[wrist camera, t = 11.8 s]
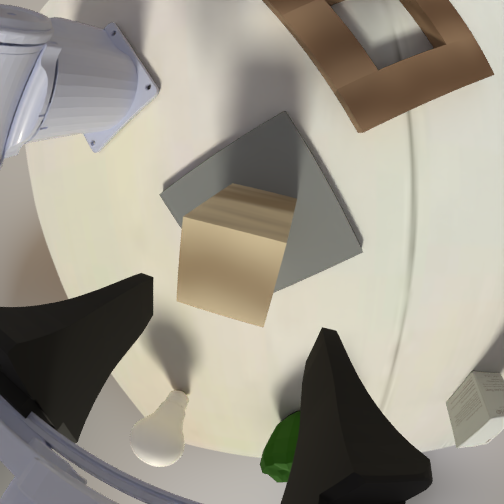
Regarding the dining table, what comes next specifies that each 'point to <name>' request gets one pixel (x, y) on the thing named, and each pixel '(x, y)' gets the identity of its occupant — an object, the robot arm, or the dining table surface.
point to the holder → (393, 76)
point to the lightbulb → (161, 432)
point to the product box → (477, 409)
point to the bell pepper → (281, 449)
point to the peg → (234, 252)
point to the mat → (281, 182)
